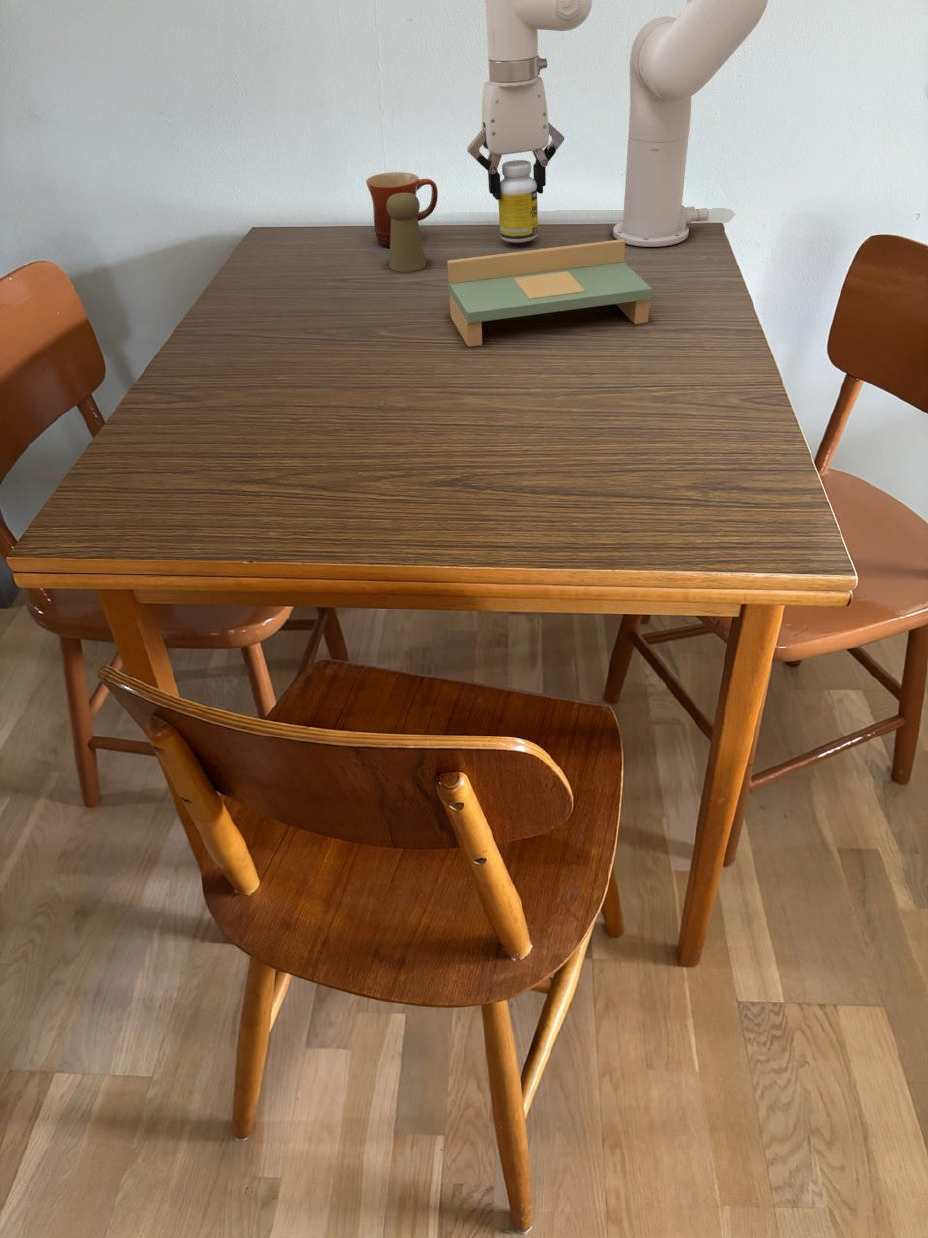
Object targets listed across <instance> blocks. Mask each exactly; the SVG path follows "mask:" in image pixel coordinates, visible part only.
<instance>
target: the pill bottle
mask: <svg viewBox="0 0 928 1238" xmlns="http://www.w3.org/2000/svg"><path fill="white" fill-rule="evenodd" d="M531 172H532V163H531V161H529V160H525V159H514V160H513V159H512V160H509V161H505V162H504V163H503V162H502V165H501V174H502V175H503V179H501V180H500V186H501V198H500V199H499V200H497V202H498V218H499V219H498V220H499V236H500V239H501V240H503V241H504V242H507V243H516V244H519V243H526V242H530V241H533V240H534V239H535V238H537V236H538V235H539V219H538V218H539V217H538V192H537V184H536V181H535V180H534V177H531V175H530V174H531Z"/></svg>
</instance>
